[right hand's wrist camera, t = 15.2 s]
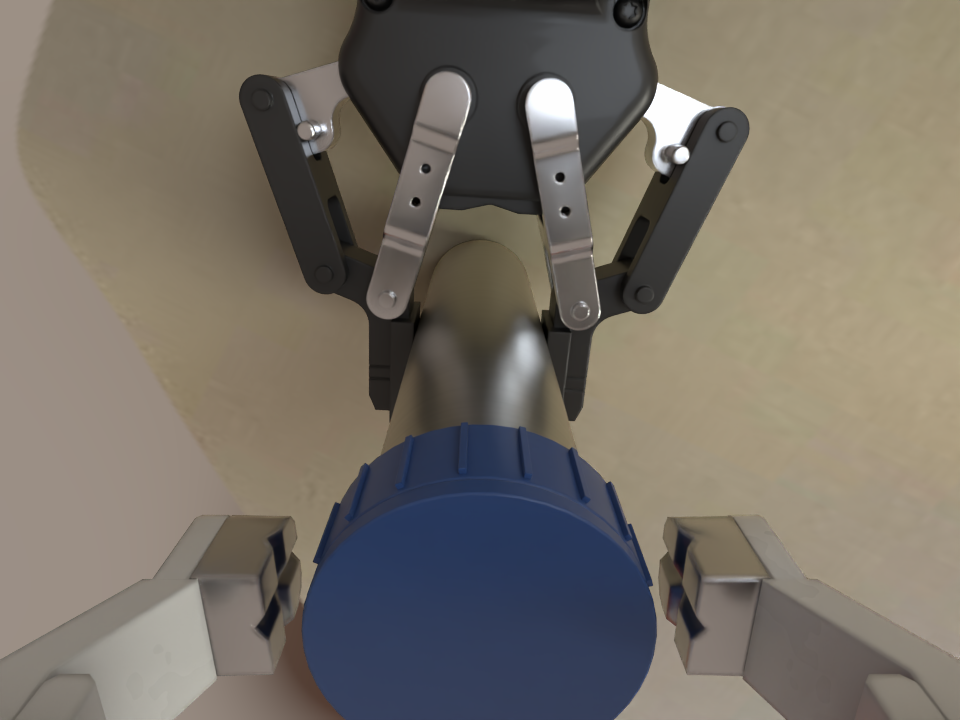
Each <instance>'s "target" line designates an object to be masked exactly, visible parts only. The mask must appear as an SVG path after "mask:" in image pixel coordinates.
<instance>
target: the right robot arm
mask: <svg viewBox="0 0 960 720" xmlns="http://www.w3.org/2000/svg"><path fill="white" fill-rule="evenodd" d="M296 540H297V533H296V527H295V521H294V520H293V519H292V517H291V516H252V515H232V516H230V515H202V516H199V517H197V518H195V519H194V521H193V522H192V524H191V525H190V526H189V528H188V529H187V531H186V532H185V534H184V535H183V536H182V538H181V539H180V541H179V542H178V543H177V545H176V546H175V548H174V549H173V551H172V552H171V553H170V555H169V556H168V558H167V559H166V561H165V562H164V563H163V565H162V566H161V568H160V569H159V570H158V572H157V573H156V575H155V576H154V578H153V579H142V580H141V581H139V582H137V583H135V584H134V585H132V586H130V587H128V588H126V589H125V590H123V591H121V592H119V593H118V594H116V595H114V596H112V597H111V598H109V599H107V600H105V601H103V602H102V603H100V604H98V605H96V606H95V607H93V608H91V609H89V610H87V611H86V612H84V613H82V614H80V615H79V616H77V617H75V618H73V619H72V620H70V621H68V622H66V623H64V624H63V625H61V626H59V627H57V628H56V629H54V630H52V631H50V632H49V633H47V634H45V635H43V636H41V637H40V638H38V639H36V640H34V641H33V642H31V643H29V644H27V645H25V646H24V647H22V648H20V649H18V650H17V651H15V652H13V653H11V654H10V655H8V656H6V657H4V658H3V659H1V660H0V720H174V719H175V718H176V717H177V716H178V715H180V714H181V713H182V712H183V711H184V710H185V709H186V708H187V707H188V706H189V705H190V704H191V703H192V702H193V701H194V700H196V699H197V698H198V697H199V696H200V695H201V694H202V693H203V692H204V691H205V690H206V689H207V688H208V687H209V686H210V685H212V684H213V683H214V682H215V681H216V680H217V676H236V675H271V674H273V673H274V671H275V668H276V665H277V663H278V660H279V657H280V655H281V652H282V649H283V647H284V644H285V641H286V638H285V630H284V626H285V625H286V624H288V623H289V622H290V621H292V620H293V619H294V617H295V614H296V611H297V608H298V605H299V599H300V593H301V575H302V573H301V564H300V560H299V559H298V558H297V556H296V555H295V554H294V553H293V552H292V550H293V547H294V545H295V542H296ZM663 540H664V542H665V545H666V547H667V549H668V552H667V553H666V554H665V555H664V557H663V558H662V559H661V560H660V565H659V576H658V579H659V595H660V599H661V604H662V608H663V611H664V614H665V616H666V619H667V620H668V621H670V622H671V623H672V624H674V625H675V626H676V631H675V638H674V641H675V644H676V647H677V649H678V652H679V654H680V657H681V660H682V662H683V665H684V668H685V670H686V673H687V674H688V675H723V676H743V679H744V680H745V681H746V682H747V683H748V684H749V685H750V686H751V687H752V688H753V689H754V690H755V691H756V692H757V693H758V694H760V695H761V696H762V697H763V698H764V699H765V700H766V701H767V702H768V703H769V704H770V705H771V706H772V707H773V708H774V709H776V710H777V711H778V712H779V713H780V714H781V715H782V716H783V717H784V718H785V719H786V720H960V660H959V659H957V658H955V657H954V656H952V655H950V654H948V653H947V652H945V651H943V650H941V649H940V648H938V647H936V646H934V645H932V644H931V643H929V642H927V641H925V640H924V639H922V638H920V637H918V636H917V635H915V634H913V633H911V632H910V631H908V630H906V629H904V628H902V627H901V626H899V625H897V624H895V623H894V622H892V621H890V620H888V619H887V618H885V617H883V616H881V615H879V614H878V613H876V612H874V611H872V610H871V609H869V608H867V607H865V606H864V605H862V604H860V603H858V602H857V601H855V600H853V599H851V598H849V597H848V596H846V595H844V594H842V593H841V592H839V591H837V590H835V589H834V588H832V587H830V586H828V585H826V584H825V583H823V582H821V581H819V580H818V579H807V577H806V576H805V575H804V573H803V572H802V570H801V569H800V568H799V566H798V565H797V563H796V562H795V561H794V559H793V558H792V556H791V555H790V554H789V552H788V551H787V549H786V548H785V547H784V545H783V544H782V542H781V541H780V539H779V538H778V537H777V535H776V534H775V532H774V531H773V530H772V528H771V527H770V525H769V524H768V523H767V521H766V520H765V518H763V517H762V516H760V515H730V516H711V517H667V520H666V523H665V525H664V533H663Z"/></svg>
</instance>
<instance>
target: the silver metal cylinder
mask: <svg viewBox="0 0 960 720" xmlns="http://www.w3.org/2000/svg"><path fill="white" fill-rule="evenodd" d="M462 422H468V425H471V424H477V425H498V426H506V427H513V428H517V429H519V426H521V427H525V428H526V431H529V432H533V433H535V434H538V435H541V436H543V437H546V438H548V439H551V440H553V441H555V442H557V443H559V444H560V445H562V446H564V447H566V448H568V449H570V448H571V447H573V448H574V449H576V450H577V448H576V445H575V441H574V438H573V434H572V430H571V427H570V423H569V420H568V416H567V413H566V409H565V406H564V402H563V399H562V395H561V392H560V388H559V385H558V381H557V378H556V374H555V371H554V367H553V364H552V360H551V357H550V353H549V350H548V346H547V343H546V339H545V336H544V332H543V329H542V325H541V322H540V318H539V315H538V311H537V308H536V304H535V301H534V297H533V294H532V290H531V287H530V283H529V280H528V276H527V273H526V270H525V268H524V266H523V264H522V262H521V261H520V260H519V258H518V257H517V256H516V255H515V254H514V253H513V252H512V251H511V250H509V249H508V248H506V247H505V246H503V245H501V244H499V243H496V242H492V241H487V240H472V241H467V242H464V243H461V244H459V245H457V246H455V247H453V248H452V249H450V250H449V251H448V252H447V253H446V254H444V255H443V257H442V258H441V259H440V260H439V262H438V264H437V265H436V267H435V269H434V272H433V275H432V278H431V282H430V285H429V289H428V292H427V296H426V299H425V303H424V306H423V310H422V313H421V317H420V320H419V324H418V327H417V331H416V334H415V338H414V341H413V344H412V348H411V351H410V355H409V358H408V362H407V365H406V369H405V372H404V376H403V379H402V383H401V386H400V390H399V393H398V397H397V400H396V404H395V407H394V411H393V414H392V417H391V421H390V424H389V428H388V431H387V435H386V438H385V442H384V445H383V449H382V452H381V455H382V454H384V453H385V452H387V451H388V450H390V449H391V448H393V447H394V446H396V445H398V444H400V443H402V442H404V441H405V437H407V436H409V435H412V436H413V437H415V436H418V435H421V434H424V433H427V432H430V431H433V430H438V429H442V428H447V427H451V426H461V423H462Z"/></svg>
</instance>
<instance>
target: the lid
mask: <svg viewBox="0 0 960 720" xmlns="http://www.w3.org/2000/svg"><path fill="white" fill-rule="evenodd" d="M313 562H314V563H317V564H318V565H317V568H316V571H315V574H314V577H313V580H312V582H311V585H310V588H309V591H308V593H307V597H306V600H305V603H304V610H303V618H302V638H303V648H304V652H305V656H306V660H307V663H308V667H309V669H310V672H311V674H312V676H313V678H314V680H315V682H316V684H317V686H318V687H319V689H320V691H321V692H322V694H323V695H324V697H325V698H326V700H327V701H328V702H329V703H330V704H331V705H332V707H333V708H334V709H335V710H336V711H337V712H338V714H340V715H341V716H342V717H343V718H344V719H345V720H614V719H615V718H616V717H617V716H618V715H619V714H620V713H621V712H622V711H623V710H624V709H625V708H626V706H627V705H628V704H629V703H630V702H631V700H632V699H633V698H634V696H635V695H636V693H637V692H638V690H639V689H640V687H641V685H642V683H643V681H644V679H645V677H646V676H647V674H648V671H649V668H650V665H651V662H652V659H653V656H654V650H655V644H656V638H657V620H656V613H655V608H654V602H653V598H652V595H651V593H650V590H649V587H650V586H653V583H652V579H651V577H650V574H649V571H648V568H647V566H646V563H645V560H644V557H643V555H642V552H641V549H640V546H639V544H638V541H637V538H636V535H635V533H634V530H633V527H632V525H631V524H627V521H626V519H625V516H624V513H623V510H622V507H621V504H620V502H619V499H618V496H617V493H616V490H615V488H614V485H613V484H612V482H611V481H610V482H608V483H606V482H605V481H604V480H603V478H602V477H601V476H600V474H599V473H598V472H596V471H595V470H594V469H593V468H592V467H591V466H590V465H589V464H588V463H587V462H586V461H585V460H583V459H582V458H581V457H579V455H578V452H577V450H576V449H574V448H573V447H571V448H570V449H568V448H566V447H564V446H562V445H560V444H559V443H557V442H555V441H553V440H551V439H548V438H546V437H543V436H541V435H538V434H535V433H533V432H529V431H526V428H525V427H521V426H519V429H517V428H513V427H506V426H498V425H477V424H471V425H468V422H462V423H461V426H451V427H447V428H442V429H438V430H433V431H430V432H427V433H424V434H421V435H418V436H415V437H413V436H412V435H409V436H407V437H405V441H404V442H402V443H400V444H398V445H396V446H394V447H393V448H391V449H390V450H388V451H387V452H385V453H384V454H382V455H381V456H379V457H378V458H376V459H375V460H374V461H373V462H372V463H371V464H370V465H369V466H368V465H367V464H366V463H365V464H364V465H362V466H361V468H360V471H359V474H358V477H357V478H356V479H355V481H354V482H353V483H352V484H351V486H350V487H349V489H348V491H347V492H346V494H345V495H344V497H343V499H342V501H341V503H340V504H339V503H336V502H335V504H334V506H333V509H332V511H331V514H330V517H329V520H328V522H327V525H326V528H325V530H324V533H323V536H322V538H321V541H320V544H319V547H318V549H317V552H316V555H315V557H314V560H313Z"/></svg>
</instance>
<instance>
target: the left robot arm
mask: <svg viewBox="0 0 960 720" xmlns="http://www.w3.org/2000/svg"><path fill="white" fill-rule="evenodd" d="M649 3H650V0H357V7H356V12H355V16H354V20H353V22H352V25H351V28H350V30H349V32H348V34H347V36H346V38H345V39H344V41H343V43H342V46H341V49H340V53H339V59H338V61H337V62H334V63H330V64H327V65H323V66H320V67H317V68H313V69H310V70H306V71H303V72H300V73H296V74H293V75H289V76H286V77H282V78H280V77H274V76H268V75H261V74H259V75H253V76H251V77H249V78H248V79H246V80H245V81H244V83H243V84H242V86H241V88H240V92H239V100H240V105H241V108H242V110H243V113H244V116H245V119H246V121H247V124H248V127H249V129H250V132H251V135H252V137H253V140H254V143H255V146H256V148H257V151H258V154H259V156H260V159H261V162H262V165H263V167H264V170H265V173H266V175H267V178H268V181H269V184H270V186H271V189H272V192H273V194H274V197H275V200H276V202H277V205H278V208H279V211H280V213H281V216H282V219H283V221H284V224H285V227H286V230H287V232H288V235H289V238H290V240H291V243H292V246H293V249H294V251H295V254H296V257H297V259H298V262H299V265H300V267H301V270H302V273H303V276H304V278H305V281H306V283H307V284H308V286H309V287H310V288H311V289H313V290H314V291H316V292H318V293H321V294H332V293H335V294H338V295H340V296H343V297H345V298H348V299H350V300H352V301H354V302H356V303H358V304H359V305H360V306H361V307H362V308H363V309H364V311H365V312H366V314H367V316H368V320H369V396H370V398H371V400H372V403H373V405H374V407H375V410H390V421H391V417H392V414H393V411H394V407H395V404H396V400H397V397H398V393H399V390H400V386H401V383H402V379H403V376H404V372H405V369H406V365H407V362H408V358H409V355H410V351H411V348H412V344H413V341H414V338H415V334H416V331H417V327H418V324H419V320H420V302H414V286H415V283H416V280H417V277H418V274H419V270H420V267H421V264H422V261H423V258H424V255H425V252H426V248H427V245H428V242H429V239H430V236H431V233H432V230H433V227H434V224H435V221H436V218H437V215H438V211H439V209H451V210H465V209H470V208H475V207H480V206H484V205H494V206H497V207H500V208H503V209H506V210H509V211H512V212H515V213H518V214H530V215H537V221H538V226H539V231H540V236H541V240H542V244H543V249H544V255H545V260H546V266H547V271H548V277H549V283H550V288H551V298H550V307H549V310H542V316H541V325H542V329H543V332H544V336H545V339H546V343H547V346H548V350H549V353H550V357H551V360H552V364H553V367H554V371H555V374H556V378H557V381H558V385H559V388H560V392H561V395H562V399H563V402H564V406H565V409H566V413H567V416H568V420H569V421H575V420H576V418H577V416H578V414H579V413H580V411H581V409H582V408H583V401H584V394H585V386H586V377H587V371H588V363H589V356H590V348H591V340H592V335H593V332H594V330H595V328H596V327H597V326H598V324H599V323H601V322H602V321H603V320H604V319H606V318H608V317H611V316H614V315H618V314H621V313H625V312H629V311H632V312H634V313H637V314H647V313H650V312H652V311H654V310H656V309H657V308H658V307H659V306H660V305H661V303H662V302H663V300H664V298H665V296H666V294H667V292H668V290H669V288H670V286H671V284H672V282H673V280H674V279H675V277H676V275H677V273H678V271H679V269H680V267H681V265H682V263H683V261H684V259H685V257H686V255H687V254H688V252H689V250H690V248H691V246H692V244H693V242H694V240H695V238H696V236H697V234H698V232H699V230H700V229H701V227H702V225H703V223H704V221H705V219H706V217H707V215H708V213H709V211H710V209H711V207H712V206H713V204H714V202H715V200H716V198H717V196H718V194H719V192H720V190H721V188H722V186H723V184H724V182H725V181H726V179H727V177H728V175H729V173H730V171H731V169H732V167H733V165H734V163H735V161H736V159H737V157H738V156H739V154H740V152H741V150H742V148H743V146H744V144H745V142H746V140H747V138H748V135H749V122H748V119H747V117H746V115H745V114H744V113H743V112H742V111H741V110H739V109H737V108H733V107H724V106H708V105H706V104H704V103H701V102H699V101H697V100H695V99H693V98H690V97H688V96H686V95H684V94H682V93H679V92H677V91H675V90H673V89H670V88H668V87H666V86H664V85H662V84H659V83H658V71H657V66H656V63H655V60H654V58H653V55H652V52H651V49H650V45H649V40H648V32H647V17H648V9H649ZM350 99H351V101H352V103H353V104H354V106H355V107H356V109H357V110H358V112H359V113H360V115H361V116H362V118H363V119H364V121H365V122H366V124H367V125H368V127H369V128H370V130H371V131H372V133H373V134H374V136H375V138H376V139H377V141H378V142H379V144H380V145H381V147H382V148H383V150H384V151H385V153H386V154H387V156H388V157H389V159H390V160H391V162H392V163H393V165H394V166H395V168H396V169H397V171H398V173H399V174H400V176H399V180H398V183H397V187H396V190H395V194H394V197H393V201H392V204H391V207H390V211H389V214H388V218H387V221H386V225H385V228H384V233H383V240H382V244H381V247H380V251H379V254H378V256H377V255H375V254H373V253H370V252H368V251H365V250H363V249H361V248H358V246H357V243H356V239H355V236H354V233H353V230H352V227H351V224H350V221H349V218H348V215H347V212H346V209H345V206H344V203H343V200H342V197H341V194H340V191H339V188H338V185H337V182H336V179H335V176H334V173H333V170H332V167H331V164H330V161H329V158H328V155H327V152H326V151H327V150H330V149H331V148H333V147H334V146H335V145H336V144H337V143H338V141H339V138H340V134H341V128H340V122H339V116H340V111H341V109H342V107H343V105H344V104H345V103H346V102H347V101H348V100H350ZM640 119H641V120H642V121H643V122H644V124H645V126H646V128H647V132H648V141H647V144H646V148H645V160H646V163H647V165H648V166H649V167H650V168H651V169H652V170H653V171H655V174H654V176H653V178H652V180H651V182H650V184H649V186H648V188H647V190H646V192H645V195H644V197H643V199H642V201H641V203H640V205H639V207H638V209H637V211H636V213H635V215H634V218H633V220H632V222H631V224H630V226H629V228H628V230H627V232H626V234H625V236H624V238H623V240H622V243H621V245H620V247H619V249H618V251H617V253H616V255H615V257H614V259H613V261H612V263H610V264H607V265H603V266H600V267H596V268H595V266H594V259H593V237H592V230H591V223H590V217H589V210H588V203H587V197H586V190H585V184H586V182H587V181H588V180H589V179H590V178H591V177H592V175H593V174H594V173H595V172H596V171H597V170H598V168H599V167H600V166H601V165H602V164H603V162H604V161H605V160H606V159H607V158H608V157H609V155H610V154H611V153H612V152H613V151H614V150H615V148H616V147H617V146H618V145H619V144H620V143H621V141H622V140H623V139H624V138H625V137H626V136H627V134H628V133H629V132H630V131H631V130H632V129H633V127H634V126H635V125H636V124H637V123H638V122H639V120H640Z"/></svg>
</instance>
